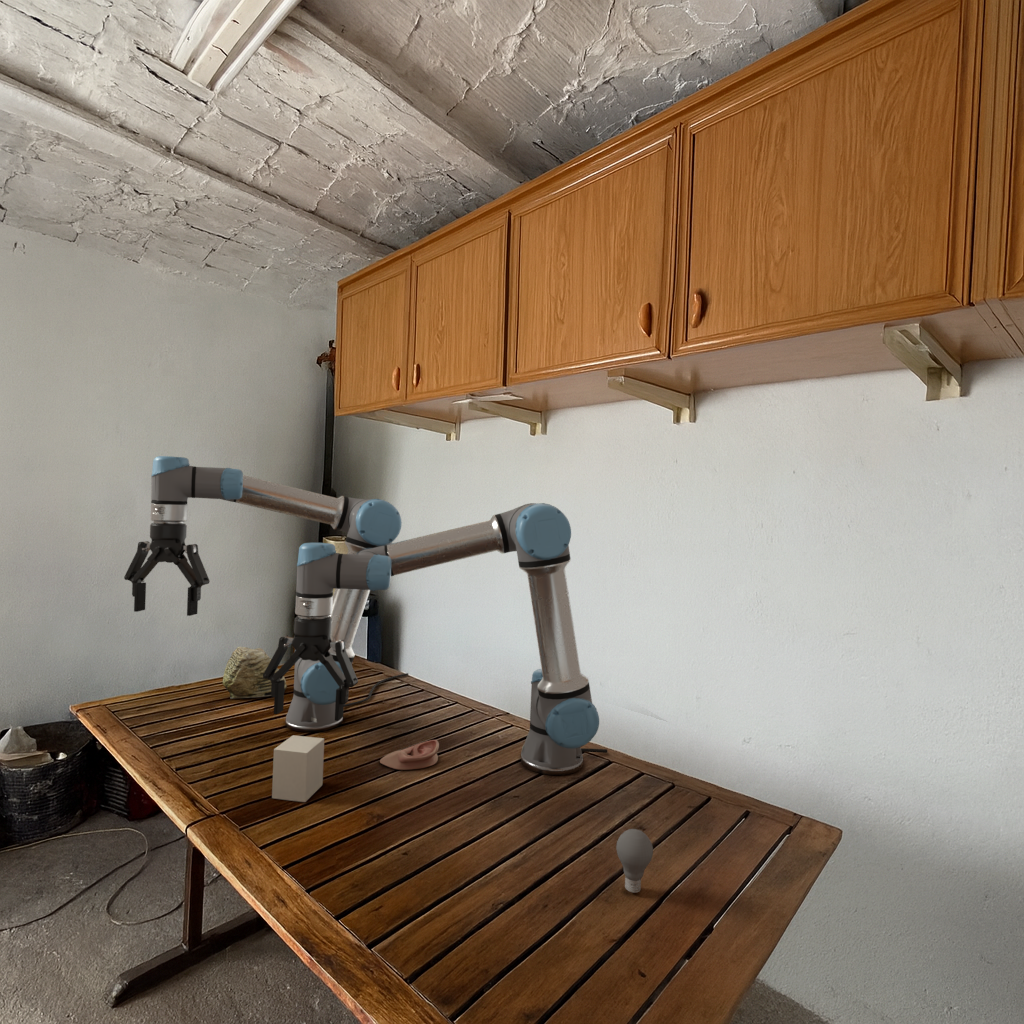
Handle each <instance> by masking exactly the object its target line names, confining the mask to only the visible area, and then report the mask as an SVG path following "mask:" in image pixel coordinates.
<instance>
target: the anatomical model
mask: <svg viewBox="0 0 1024 1024" xmlns="http://www.w3.org/2000/svg"><path fill="white" fill-rule="evenodd" d="M439 748H440V743H439V741H438V740H437V739H431V740H430V739H429V740H426V741H423V742H419V743H416V744H414V745H412V746H409V747H406V748H403V749H400V750H399V749H398V750H395V751H392V752H390V753H388V754H386V755H384V756H383V757H382V758H380V760H379V763H380V764H382V765H384V766H385V767H388V768H390V769H394V770H399V771H400V770H401V771H403V770H404V771H405V770H419V769H424V768H428V767H431V766H433V765H435V764H437V763H438V760H439V756H438V754H437V753H438V752H439Z"/></svg>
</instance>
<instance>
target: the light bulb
mask: <svg viewBox="0 0 1024 1024" xmlns="http://www.w3.org/2000/svg"><path fill="white" fill-rule="evenodd" d="M615 849H616V854H617V857H618V859H619V861H620V863H621V865H622V867H623V873H624V874H623V875H624V876H625V878H624V888H625V890H627V891H628V892H630V893H634V894H635V893H639V892H640V891H641V889H642V887H641V886H642V879H643V877H644V875H645V871H646V868H647V867H648V866H649V864H650V863H651V861H652V859H653V855H654V847H653V843H652V841H651V838H649V836H648V835H647V834H646V833H645V832H643V831H642V830H641V829H636V828H629V829H627V830H625V831H623V832H622V833H621V834H620V835H619V837H618V839H617V841H616V847H615Z"/></svg>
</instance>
